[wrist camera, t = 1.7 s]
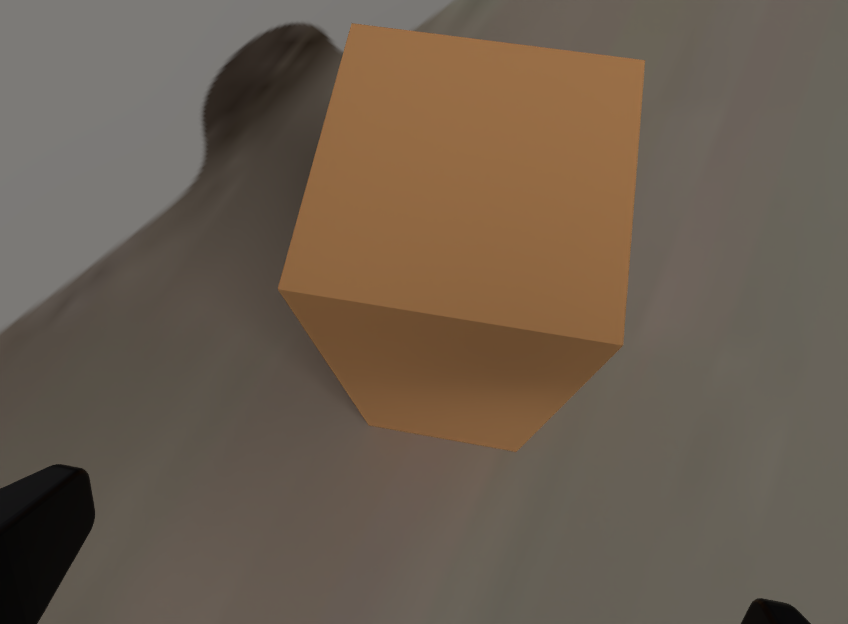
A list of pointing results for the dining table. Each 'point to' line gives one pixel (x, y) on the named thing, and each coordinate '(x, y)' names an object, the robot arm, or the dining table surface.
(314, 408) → the dining table surface
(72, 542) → the robot arm
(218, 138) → the dining table surface
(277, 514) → the dining table surface
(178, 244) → the dining table surface
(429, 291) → the orange brick
